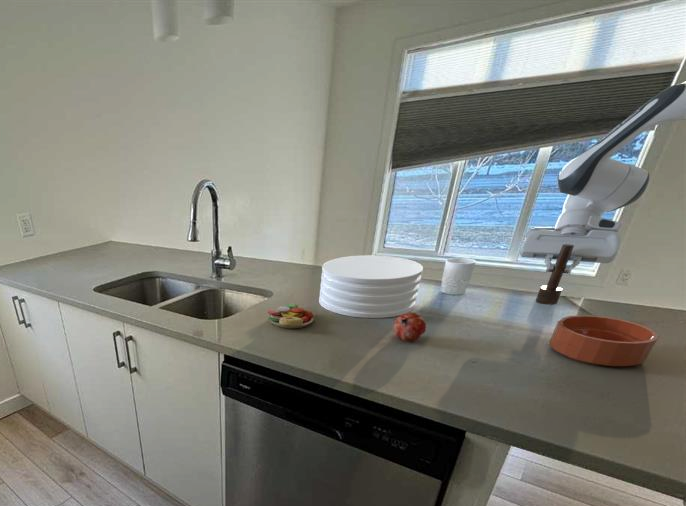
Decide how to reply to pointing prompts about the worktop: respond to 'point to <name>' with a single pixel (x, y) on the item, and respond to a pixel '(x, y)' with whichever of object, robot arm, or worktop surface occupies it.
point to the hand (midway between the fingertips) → (558, 271)
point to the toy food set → (291, 316)
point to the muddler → (555, 278)
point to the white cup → (457, 275)
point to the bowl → (603, 340)
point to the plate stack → (370, 286)
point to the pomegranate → (409, 327)
